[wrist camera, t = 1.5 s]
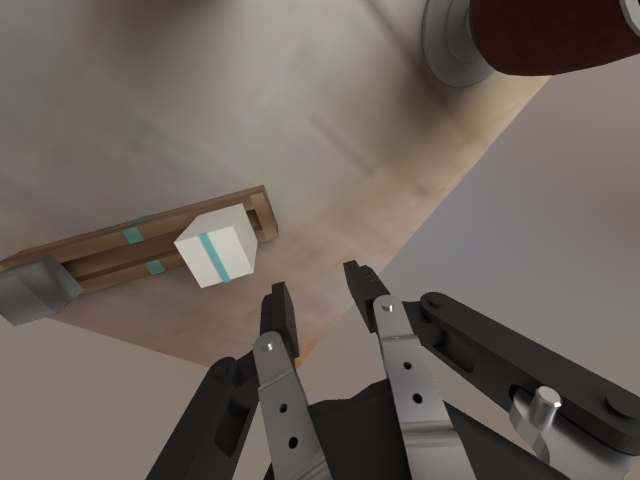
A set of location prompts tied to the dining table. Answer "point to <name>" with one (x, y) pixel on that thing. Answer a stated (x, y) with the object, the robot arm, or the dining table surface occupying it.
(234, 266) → the block
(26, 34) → the dining table surface
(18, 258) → the beam
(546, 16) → the mate gourd
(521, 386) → the robot arm
